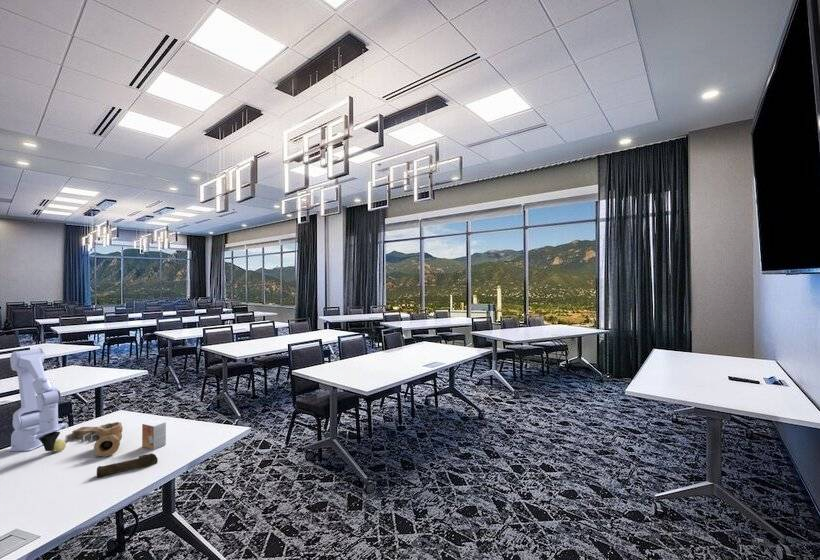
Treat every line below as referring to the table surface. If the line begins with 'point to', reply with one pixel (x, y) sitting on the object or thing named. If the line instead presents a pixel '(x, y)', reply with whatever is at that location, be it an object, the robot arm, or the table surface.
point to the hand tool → (128, 465)
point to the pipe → (108, 439)
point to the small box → (153, 434)
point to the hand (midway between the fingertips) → (49, 450)
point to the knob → (59, 445)
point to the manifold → (83, 434)
